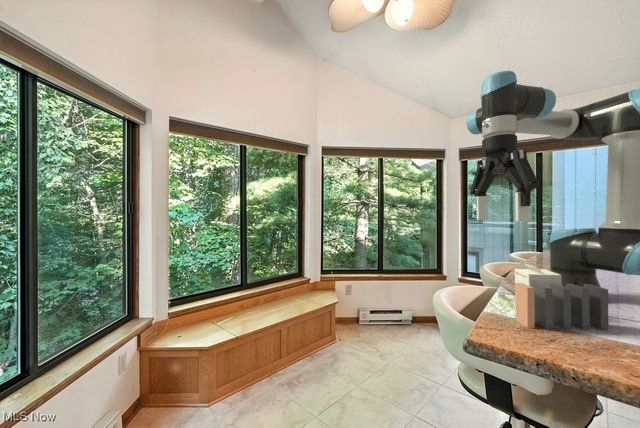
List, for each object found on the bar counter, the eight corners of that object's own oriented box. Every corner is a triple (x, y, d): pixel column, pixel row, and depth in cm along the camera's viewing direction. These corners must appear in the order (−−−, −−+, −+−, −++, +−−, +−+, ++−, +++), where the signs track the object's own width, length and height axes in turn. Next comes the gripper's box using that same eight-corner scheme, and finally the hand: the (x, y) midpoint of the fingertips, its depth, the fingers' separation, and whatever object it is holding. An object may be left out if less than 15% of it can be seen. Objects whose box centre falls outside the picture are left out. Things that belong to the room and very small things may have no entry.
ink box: (563, 317, 76) (563, 268, 76) (529, 315, 78) (528, 267, 78) (545, 306, 85) (544, 263, 85) (514, 305, 86) (513, 262, 86)
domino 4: (573, 321, 73) (572, 283, 73) (589, 329, 68) (589, 289, 68) (566, 321, 73) (566, 283, 73) (582, 329, 68) (582, 288, 68)
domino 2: (538, 320, 74) (538, 283, 74) (552, 328, 69) (552, 288, 69) (532, 320, 74) (532, 283, 74) (545, 328, 69) (545, 288, 69)
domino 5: (590, 322, 72) (590, 284, 72) (608, 330, 67) (608, 289, 67) (583, 322, 73) (583, 284, 73) (601, 330, 68) (600, 289, 68)
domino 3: (555, 321, 73) (555, 283, 73) (571, 329, 68) (570, 288, 68) (549, 321, 73) (548, 283, 73) (563, 329, 68) (563, 288, 68)
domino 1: (521, 320, 74) (521, 283, 74) (534, 328, 69) (534, 288, 69) (515, 320, 74) (515, 282, 74) (527, 327, 69) (527, 287, 69)
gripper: (456, 148, 82) (457, 219, 82) (526, 120, 58) (528, 222, 58) (480, 148, 83) (481, 219, 83) (559, 120, 58) (561, 221, 58)
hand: (500, 220), depth 70 cm, fingers open, 13 cm apart
